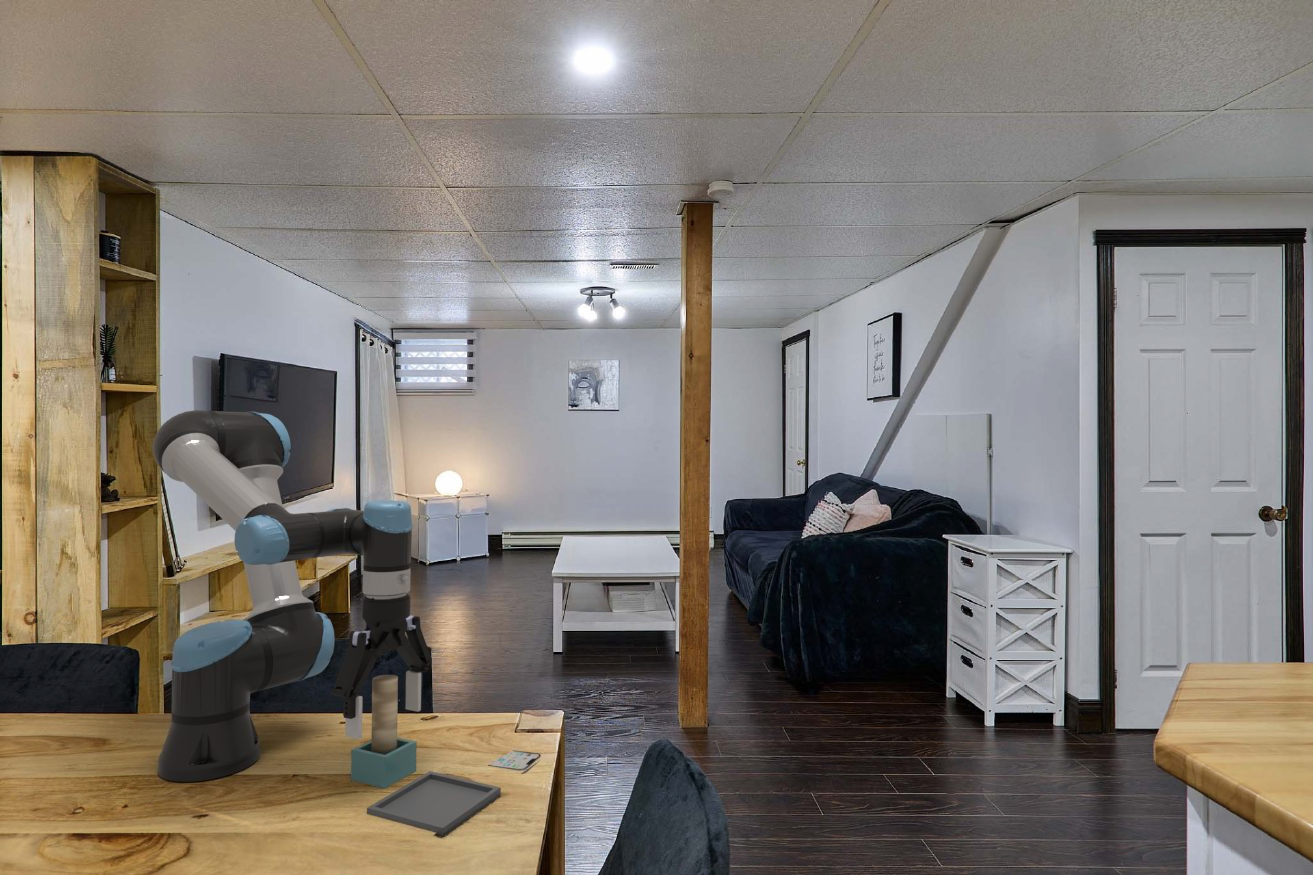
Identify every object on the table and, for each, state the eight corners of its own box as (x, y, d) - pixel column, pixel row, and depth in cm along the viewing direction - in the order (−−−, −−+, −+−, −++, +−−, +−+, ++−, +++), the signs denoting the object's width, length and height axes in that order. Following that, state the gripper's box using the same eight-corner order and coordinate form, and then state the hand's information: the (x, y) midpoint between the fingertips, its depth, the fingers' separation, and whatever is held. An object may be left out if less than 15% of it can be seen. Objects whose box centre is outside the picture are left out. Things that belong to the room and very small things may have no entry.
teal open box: (350, 783, 125) (351, 749, 125) (382, 766, 131) (383, 734, 131) (384, 792, 122) (385, 757, 122) (416, 774, 128) (416, 741, 128)
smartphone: (468, 744, 140) (542, 753, 136) (468, 751, 140) (543, 760, 136) (445, 760, 133) (523, 770, 129) (445, 767, 133) (523, 777, 129)
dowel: (365, 777, 125) (366, 680, 125) (383, 768, 129) (384, 673, 129) (384, 782, 124) (385, 683, 124) (401, 772, 127) (403, 676, 128)
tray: (366, 817, 114) (366, 807, 114) (429, 779, 126) (429, 771, 126) (442, 838, 108) (442, 828, 108) (500, 796, 121) (500, 787, 121)
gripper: (345, 611, 114) (343, 754, 114) (453, 584, 137) (451, 703, 136) (308, 606, 117) (306, 746, 117) (420, 580, 140) (418, 696, 139)
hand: (384, 723), depth 126 cm, fingers open, 13 cm apart
